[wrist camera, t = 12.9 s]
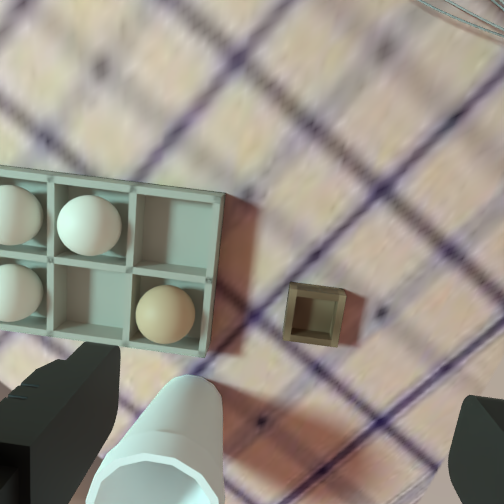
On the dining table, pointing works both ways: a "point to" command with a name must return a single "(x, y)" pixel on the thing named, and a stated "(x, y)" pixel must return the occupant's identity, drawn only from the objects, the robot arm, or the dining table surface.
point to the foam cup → (168, 451)
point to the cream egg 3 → (89, 225)
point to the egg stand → (314, 314)
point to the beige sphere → (165, 314)
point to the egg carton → (119, 259)
